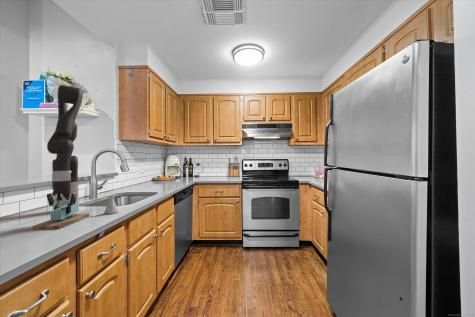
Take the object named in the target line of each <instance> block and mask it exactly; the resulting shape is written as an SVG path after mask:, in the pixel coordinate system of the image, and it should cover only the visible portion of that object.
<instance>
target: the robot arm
mask: <svg viewBox="0 0 475 317" xmlns="http://www.w3.org/2000/svg"><path fill="white" fill-rule="evenodd" d="M83 97H84V93H83V90H82V89H81V88H80V87H75V86H70V85H66V84H65V85H64V84H60V85H59V86H58V88H57V109H58V111H57V114H58V115H57V122H56V126H55V130H54V132H53V134H52V135H51V137H50V138H49V140H48V142H47V144H46V149H47V151H48V153H49V154H53V155H55V157H56V158H55V159H53V160H52V162H51V163H52V165H51V166H52V168H51V169H52V174H51V183H52V184H51V189H52V193H51V192H50V193H46V199H47V203H48V206H50V207H53V210H56V209H58V208H60V207H62V206H65V205H66V214H70V212H71V206H72V205H74V204H78V205H79V183H78V182H79V177H78V172H79V171H78V170H79V158H78V156H77V155H72V154H73V152H74V149H75V147H74V146H75V145H74V142H75V140H76V139H77V136H78V125H77V123H76V118H77V116H78V113H79V111H80V108H81V106H82V102H83V99H84V98H83ZM67 104H70V105H71V107H70V108H69V109H68V108H67Z"/></svg>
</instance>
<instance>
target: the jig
mask: <svg viewBox="0 0 475 317" xmlns="http://www.w3.org/2000/svg"><path fill="white" fill-rule="evenodd" d="M89 217H90V213H74V214H72V215H70V216H68V217H66V218H64V219H62V220H51V219H50V220H46V221H44V222H41V223H40V222H39V223H38V224H34V225H32V230H60V229H64V228H65V227H67V226H70V225H72V224H74V223H77V222H80V221H82V220H84V219H87V218H89Z"/></svg>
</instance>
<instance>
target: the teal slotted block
mask: <svg viewBox="0 0 475 317" xmlns="http://www.w3.org/2000/svg"><path fill="white" fill-rule="evenodd" d="M79 211H80V210H79V203H78V204H74V205H72V206H71V212H70V214H66V205H65V206H62V207H60V208H58V209H56V210H54V209H53V210H52V211H50V212H49V213H50V214H49V215H50V220H62V219H64V218H66V217H68V216H70V215H72V214H77V213H78V212H79Z"/></svg>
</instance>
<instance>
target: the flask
mask: <svg viewBox="0 0 475 317" xmlns="http://www.w3.org/2000/svg"><path fill="white" fill-rule="evenodd" d="M107 197H108V200H107V204H106V207H105V210H104V212H103V213H104V214H105V215H113V214H117V213H119V209H118V207H117V204H116V201H115V195H113V194H111V195H108V196H107Z"/></svg>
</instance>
